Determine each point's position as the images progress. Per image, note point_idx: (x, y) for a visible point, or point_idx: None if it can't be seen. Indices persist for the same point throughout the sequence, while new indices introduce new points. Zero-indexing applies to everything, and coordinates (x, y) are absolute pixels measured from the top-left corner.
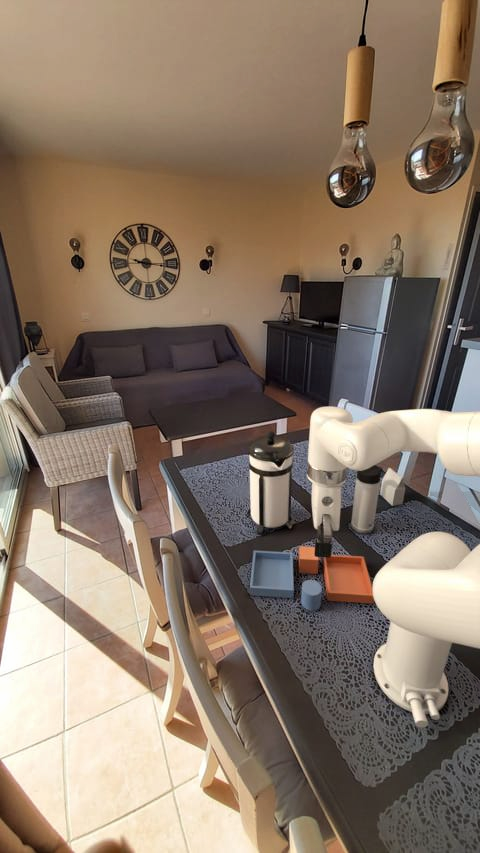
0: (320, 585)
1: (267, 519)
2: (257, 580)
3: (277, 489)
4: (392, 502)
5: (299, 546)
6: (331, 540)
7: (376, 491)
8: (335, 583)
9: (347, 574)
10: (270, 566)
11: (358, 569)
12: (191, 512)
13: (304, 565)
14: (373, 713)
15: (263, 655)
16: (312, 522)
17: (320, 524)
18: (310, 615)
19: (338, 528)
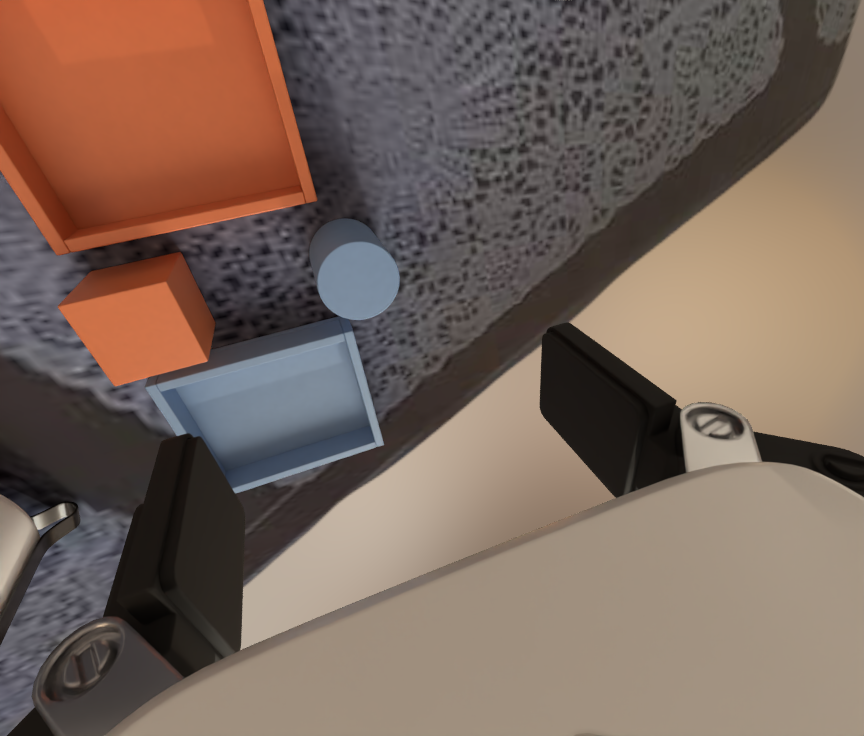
0: (338, 249)
1: (12, 556)
2: (322, 430)
3: None
4: None
5: (116, 384)
6: (750, 436)
7: None
8: (206, 164)
9: (102, 96)
10: (242, 420)
11: (5, 14)
12: None
13: (203, 325)
14: (666, 22)
15: (534, 336)
16: (242, 531)
17: (217, 473)
18: (397, 246)
19: (854, 492)
